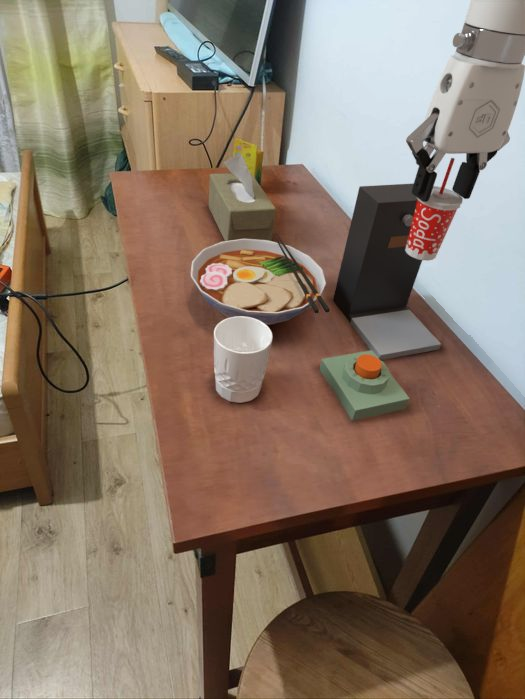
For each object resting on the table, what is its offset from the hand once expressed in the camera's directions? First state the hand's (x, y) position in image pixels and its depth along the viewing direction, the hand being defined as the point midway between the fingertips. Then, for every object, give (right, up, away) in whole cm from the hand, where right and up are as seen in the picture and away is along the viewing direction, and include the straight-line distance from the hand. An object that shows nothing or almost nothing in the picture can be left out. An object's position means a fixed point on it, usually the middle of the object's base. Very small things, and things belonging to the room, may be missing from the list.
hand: (440, 195), depth 70 cm
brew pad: (-10, -27, +7) cm, 30 cm away
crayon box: (-29, +20, +59) cm, 68 cm away
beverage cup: (-1, -7, +6) cm, 9 cm away
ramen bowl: (-26, -14, +20) cm, 36 cm away
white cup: (-28, -27, +5) cm, 39 cm away
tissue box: (-30, +6, +43) cm, 53 cm away
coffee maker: (-3, -17, +20) cm, 26 cm away
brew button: (-9, -24, +5) cm, 26 cm away
